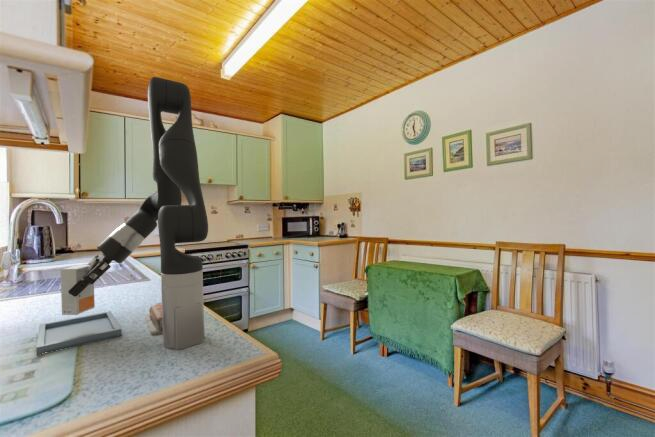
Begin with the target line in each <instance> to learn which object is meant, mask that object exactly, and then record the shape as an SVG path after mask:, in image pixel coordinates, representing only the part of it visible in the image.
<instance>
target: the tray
mask: <svg viewBox="0 0 655 437" xmlns="http://www.w3.org/2000/svg"><path fill="white" fill-rule="evenodd" d="M121 336H122V328H121V326H120V324H119V323H118V321H117V319H116V317H115V316H114V314H113V313H112V311H111V310H108V311H104V312H100V313H93V314H88V315H83V316H82V315H81V316H78V317H72V318H67V319H61V320H56V321H50V322H45V323H44V322H43V323H39V327H38V334H37V341H36V356H40V355H39V354H41V355H43V354H42V353H45V352H50V353H52V352H51V351H54V352H57V351H56V350H58V351H61V350H60V349H63V350H66V349H65V348H67V349H71V348H75V347H79V346H85V345H87V344H92V343H97V342H101V341H104V340H105V341H106V340H109V339H114V338H117V337H121ZM70 347H71V348H70Z"/></svg>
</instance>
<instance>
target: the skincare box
mask: <svg viewBox="0 0 655 437" xmlns="http://www.w3.org/2000/svg"><path fill="white" fill-rule="evenodd" d="M89 266H90V265H87V264H78V265H74V266H69V267H66V268H61V269H59V270H60V294H61V296H60V297H61V315H62V316H78V315H80V314H82V313H85V312H88V311H89V310H93V309H95V283H94V284H90V285H88V284H87V285H88V286H87V287H86V288H85V289H84V290H83V291H82V292H81V293H80V294H79V295H78V296H76V297H74V296H73V295H71V294H69V293H68V291H69V290H70V289H71V288H72V287H73V286H74V285H75V284H76V283H77V282H78V281H79V280H80V279H81V278H82V277H83V276H84V275H85V271H86V270H87V268H88V267H89ZM89 277H91V276H89ZM91 278H92V277H91Z"/></svg>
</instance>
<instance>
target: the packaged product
mask: <svg viewBox="0 0 655 437" xmlns="http://www.w3.org/2000/svg"><path fill="white" fill-rule="evenodd" d="M148 311H149V313H148V314H144V317H145V318H144V319H145V321H146V324H147V328H148V330H149V333H150V335H151V336H157V335H160V334H163V322H162V301H161V302H159V303H157V304H156V303H155V304H153V305H151V306H150V308H149V309H148Z"/></svg>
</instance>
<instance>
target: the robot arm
mask: <svg viewBox="0 0 655 437" xmlns="http://www.w3.org/2000/svg"><path fill="white" fill-rule="evenodd" d="M147 104H148V105H147V106H148V117H149V127H150V129H149V130H150V135H151V136H150V138H151V143H152V144H151V145H152V178H153V181H154V182H155V183H156V188H157V190H156V191H153V192H152V193H150V194H149V195H148V196H147V197H146V198H145V200H144V201H143V202H142V204H141V205H140V206H139V207H138V209H137V210H136V212H134V214H132V215H131V216H130V217H128V219H127V220H126V221H125V222H124V223H123V224H121V225H120V226H118V227H116V229H115V230H113V231H112V232H111V233H110V234H109V235H108V236H107V237H106V238H105V239H104V240H103V241H102V242H100V243H99V244H98V245H97V246H96V249H97V250H98V251H100V252H101V254H100V255H98V254H96V255H95V256H94V257H93V258H92V259H91V260H90V261H89V262H88V263H87V264H86V265H90V266H89V267H88V268H87V270H86V271H85V275H84V276H83V277H82V278H81V279H80V280H79V281H78V282H77V283H76V284H75V285H74V286H73V287H72V288H71V289H70V290H69V291H68V293H69V294H71V295H73V296H74V297H76V296H78V295H79V294H80V293H81V292H82V291H83V290H84V289H85V288H86V287H87V286H88V285H90V284H94V285H95V283H96V282H97V281H98V280H99V279H100V278H101V277H102V276H103V275H104V274H105V273H106V272H107V271H108V270H109V269H110V268H111V267H112V266H111V265H110V264H111V263H112V261H113V262H116V263H117V264H122V263H124V262H125V261H126V260H127V258H128V257H130V255H131V254H132V253H134V252H135V251H136V250H137V249H138V248H139V247H140V246H141V244H143V242H144V241H145V240H146V239H147V238H148V237H149V236H150V234H151V233H152V232H154V231H155V230H156V228H157V227H158V236H159V249H160V282H161V284H160V285H161V288H160V289H161V302H162V322H163V333H162V342H163V346H164V347H165V348H167V349H175V350H176V351H177V350H181V349H185V348H188V347H192V346H195V345H199V344H202V343H205V342H204V341H205V340H204V339H205V337H206V336H205V313H204V312H205V310H204V308H205V306H204V304H205V303H204V278H203V276H204V274H203V260H202V258H201V257H200V256H196V255H191V254H187V253H185V252H182V251H180V250H178V248H176V244H186V243H200V242H203V241H205V240H206V239H207V238H208V234H209V221H208V216H207V210H206V206H205V201H204V196H203V192H202V188H201V180H200V172H199V171H200V170H199V162H198V152H197V147H196V140H195V134H194V129H193V128H194V127H193V118H192V115H193V114H192V98H191V92H190V89H189V87H188V85H187V84H185V83H183V82H180V81H174V80H171V79H166V78H162V77H159V76H153V77H151V78H150V80H149V82H148V88H147ZM162 113H168V114H173V115H178V116H177V119H176V120H175V121H174V123H173V124H172V125H171V126H170V127H169V128H168V129H167V130H166V128H165V126H164V123H163V120H162ZM182 194H183V195H184V197H185V199H186V201H187V204H186V205H184V204H183V205H182V202H183V200H182V198H183V197H182ZM89 276H91V277H92V278H91V277H89ZM87 284H88V285H87Z"/></svg>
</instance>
